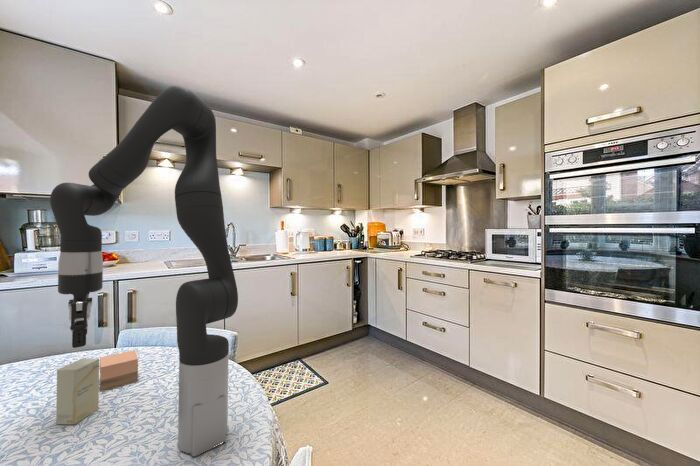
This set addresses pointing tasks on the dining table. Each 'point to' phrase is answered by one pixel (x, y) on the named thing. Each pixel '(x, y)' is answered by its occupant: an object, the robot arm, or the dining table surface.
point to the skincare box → (77, 391)
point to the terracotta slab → (118, 364)
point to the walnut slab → (118, 381)
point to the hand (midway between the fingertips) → (80, 340)
